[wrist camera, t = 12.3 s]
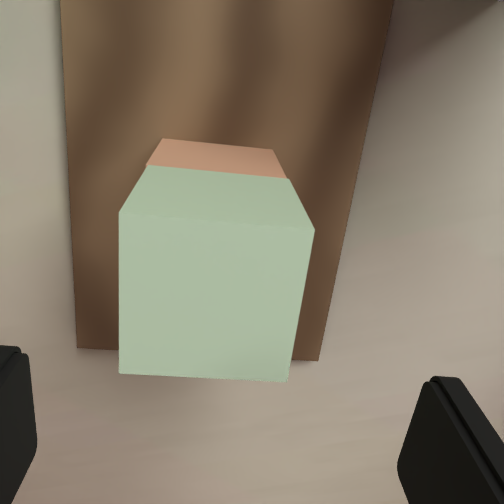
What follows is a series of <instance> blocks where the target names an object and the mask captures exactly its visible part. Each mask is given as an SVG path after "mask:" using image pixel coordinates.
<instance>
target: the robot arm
mask: <svg viewBox="0 0 504 504" xmlns="http://www.w3.org/2000/svg"><path fill="white" fill-rule="evenodd" d="M36 448H37V433H36V423H35V413H34V404H33V394H32V384H31V374H30V365H29V357H28V355H27V354H24V353H21V349H20V348H19V347H17V346H3V345H0V504H11V503H12V501H13V499H14V497H15V495H16V493H17V491H18V489H19V487H20V485H21V483H22V481H23V479H24V477H25V475H26V473H27V470H28V468H29V466H30V464H31V462H32V460H33V458H34V456H35V453H36ZM397 471H398V476H399V479H400V482H401V484H402V487H403V489H404V492H405V495H406V497H407V500H408V503H409V504H504V443H503V441H502V440H501V438H500V437H499V435H498V434H497V432H496V431H495V430H494V428H493V427H492V425H491V424H490V422H489V421H488V419H487V418H486V416H485V415H484V413H483V412H482V410H481V409H480V407H479V406H478V404H477V403H476V402H475V400H474V399H473V397H472V396H471V394H470V393H469V391H468V390H467V388H466V387H465V385H464V384H463V382H462V381H461V380H460V379H459V378H456V377H442V376H433V377H432V378H431V379H430V381H429V382H425V383H424V384H423V386H422V389H421V392H420V395H419V398H418V401H417V404H416V407H415V410H414V413H413V416H412V419H411V422H410V425H409V428H408V431H407V434H406V437H405V440H404V443H403V446H402V449H401V452H400V455H399V458H398V462H397Z"/></svg>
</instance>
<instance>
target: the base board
mask: <svg viewBox="0 0 504 504" xmlns="http://www.w3.org/2000/svg"><path fill="white" fill-rule="evenodd" d="M393 2H394V0H60V11H61V31H62V52H63V72H64V92H65V112H66V132H67V152H68V172H69V193H70V213H71V233H72V253H73V273H74V293H75V313H76V334H77V348H87V349H105V350H119V211H120V210H121V208H122V206H123V205H124V203H125V201H126V200H127V198H128V197H129V195H130V193H131V192H132V190H133V188H134V187H135V185H136V184H137V182H138V180H139V179H140V177H141V175H142V174H143V172H144V170H145V169H146V163H147V162H148V160H149V159H150V157H151V156H152V154H153V152H154V151H155V149H156V148H157V146H158V144H159V143H160V141H161V140H162V138H164V139H174V140H184V141H194V142H204V143H213V144H223V145H233V146H243V147H253V148H262V149H272V150H273V151H274V153H275V155H276V157H277V159H278V161H279V163H280V165H281V167H282V169H283V171H284V173H285V175H286V177H287V179H289V180H290V182H291V184H292V185H293V187H294V189H295V191H296V193H297V195H298V197H299V199H300V201H301V203H302V205H303V207H304V209H305V211H306V213H307V215H308V217H309V219H310V221H311V223H312V225H313V227H314V229H315V232H314V238H313V243H312V249H311V254H310V259H309V265H308V270H307V276H306V281H305V287H304V292H303V297H302V303H301V308H300V314H299V319H298V325H297V330H296V335H295V341H294V346H293V352H292V357H291V360H306V361H318V360H319V355H320V350H321V345H322V340H323V336H324V331H325V326H326V321H327V317H328V312H329V307H330V302H331V298H332V293H333V288H334V283H335V279H336V274H337V269H338V264H339V260H340V255H341V250H342V245H343V240H344V236H345V231H346V226H347V221H348V217H349V212H350V207H351V202H352V198H353V193H354V188H355V183H356V179H357V174H358V169H359V164H360V159H361V155H362V150H363V145H364V140H365V136H366V131H367V126H368V121H369V117H370V112H371V107H372V102H373V98H374V93H375V88H376V83H377V79H378V74H379V69H380V64H381V59H382V55H383V50H384V45H385V40H386V36H387V31H388V26H389V21H390V17H391V12H392V7H393Z"/></svg>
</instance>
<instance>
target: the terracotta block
mask: <svg viewBox="0 0 504 504" xmlns="http://www.w3.org/2000/svg"><path fill="white" fill-rule="evenodd" d="M148 165H155V166H165V167H175V168H185V169H195V170H205V171H215V172H225V173H236V174H246V175H256V176H266V177H276V178H286V179H287V177H286V175H285V173H284V171H283V169H282V167H281V165H280V163H279V161H278V159H277V157H276V155H275V153H274V151H273V150H272V149H262V148H253V147H243V146H233V145H223V144H213V143H204V142H194V141H184V140H174V139H164V138H162V140H161V141H160V143H159V144H158V146H157V148H156V149H155V151H154V152H153V154H152V156H151V157H150V159H149V160H148V162H147V163H146V167H147V166H148Z"/></svg>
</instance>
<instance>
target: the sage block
mask: <svg viewBox="0 0 504 504" xmlns="http://www.w3.org/2000/svg"><path fill="white" fill-rule="evenodd" d="M314 232H315V229H314V227H313V225H312V223H311V221H310V219H309V217H308V215H307V213H306V211H305V209H304V207H303V205H302V203H301V201H300V199H299V197H298V195H297V193H296V191H295V189H294V187H293V185H292V184H291V182H290V180H289V179H286V178H276V177H266V176H256V175H246V174H236V173H225V172H215V171H205V170H195V169H185V168H175V167H165V166H155V165H148V166H147V167H146V169H145V170H144V172H143V174H142V175H141V177H140V179H139V180H138V182H137V184H136V185H135V187H134V188H133V190H132V192H131V193H130V195H129V197H128V198H127V200H126V201H125V203H124V205H123V206H122V208H121V210H120V211H119V374H138V375H157V376H177V377H196V378H215V379H234V380H253V381H272V382H287V379H288V374H289V368H290V363H291V357H292V352H293V346H294V341H295V335H296V330H297V325H298V319H299V314H300V308H301V303H302V297H303V292H304V287H305V281H306V276H307V270H308V265H309V259H310V254H311V249H312V243H313V238H314Z"/></svg>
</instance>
